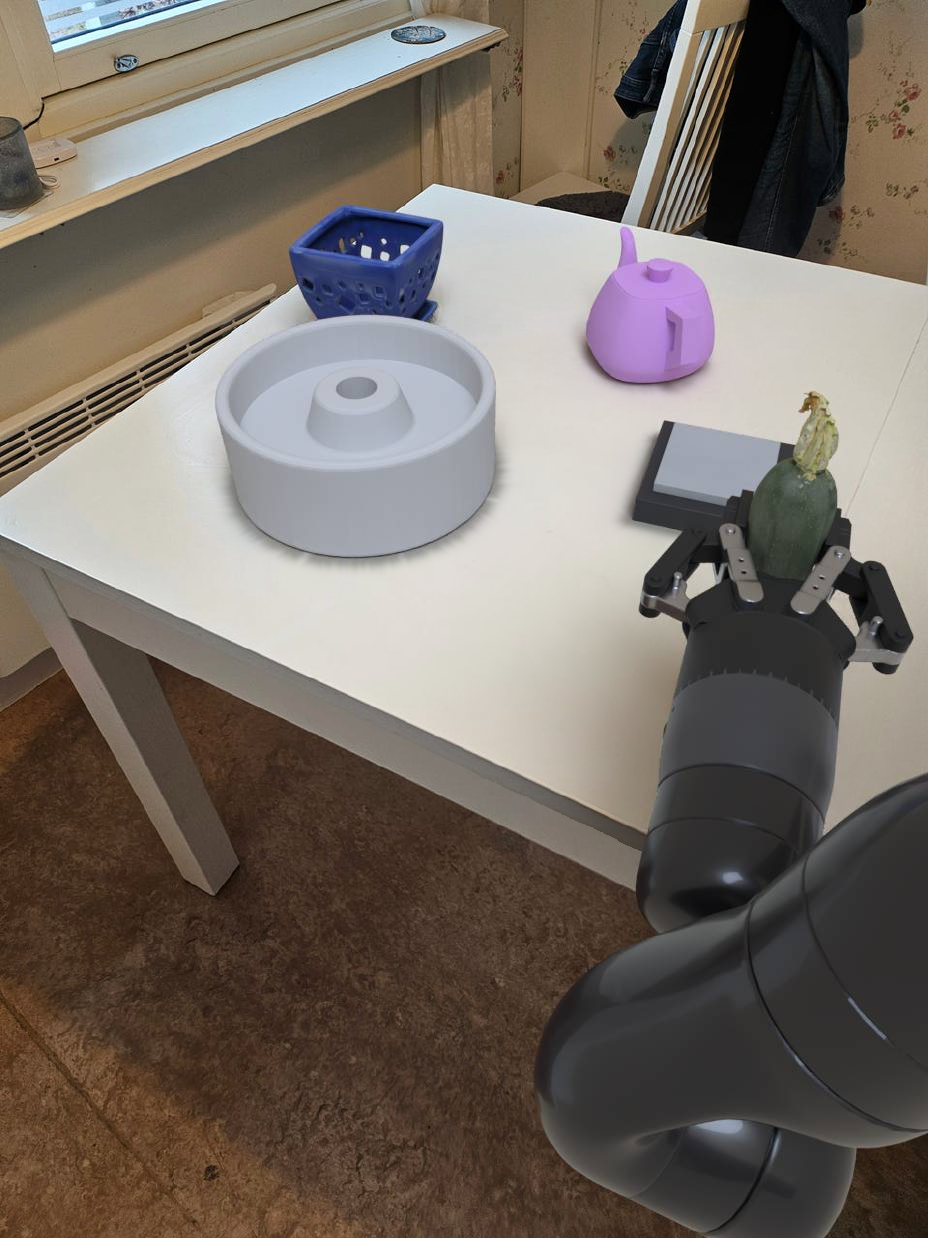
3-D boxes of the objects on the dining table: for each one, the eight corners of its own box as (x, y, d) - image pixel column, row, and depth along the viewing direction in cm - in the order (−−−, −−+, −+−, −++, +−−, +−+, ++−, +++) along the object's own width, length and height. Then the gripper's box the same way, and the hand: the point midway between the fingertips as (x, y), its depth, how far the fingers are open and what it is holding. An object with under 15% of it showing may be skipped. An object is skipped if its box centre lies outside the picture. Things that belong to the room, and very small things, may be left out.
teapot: (662, 306, 107) (677, 214, 98) (737, 393, 93) (762, 295, 85) (559, 321, 104) (565, 228, 96) (621, 412, 91) (635, 313, 83)
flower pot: (351, 297, 109) (340, 199, 100) (449, 316, 106) (446, 216, 97) (300, 349, 101) (283, 247, 92) (404, 371, 97) (397, 266, 89)
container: (247, 407, 93) (228, 320, 85) (480, 393, 94) (480, 306, 87) (224, 568, 76) (197, 476, 68) (509, 549, 77) (512, 456, 70)
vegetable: (781, 690, 56) (886, 429, 42) (713, 690, 56) (794, 430, 42) (765, 639, 59) (858, 379, 45) (701, 639, 59) (773, 380, 45)
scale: (803, 468, 84) (813, 438, 82) (789, 554, 76) (800, 523, 74) (660, 440, 88) (665, 410, 85) (632, 519, 80) (637, 489, 77)
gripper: (946, 725, 36) (940, 482, 47) (608, 642, 39) (676, 434, 50) (885, 819, 41) (892, 582, 52) (593, 739, 45) (657, 532, 56)
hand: (786, 510), depth 51 cm, fingers closed on vegetable, 4 cm apart
